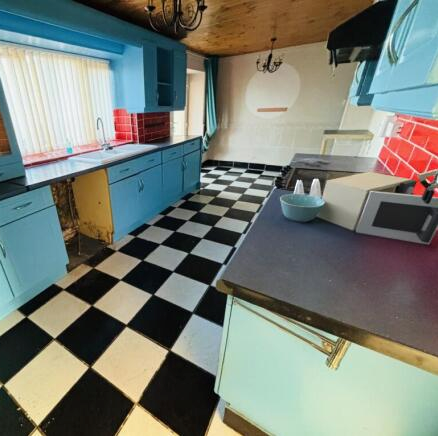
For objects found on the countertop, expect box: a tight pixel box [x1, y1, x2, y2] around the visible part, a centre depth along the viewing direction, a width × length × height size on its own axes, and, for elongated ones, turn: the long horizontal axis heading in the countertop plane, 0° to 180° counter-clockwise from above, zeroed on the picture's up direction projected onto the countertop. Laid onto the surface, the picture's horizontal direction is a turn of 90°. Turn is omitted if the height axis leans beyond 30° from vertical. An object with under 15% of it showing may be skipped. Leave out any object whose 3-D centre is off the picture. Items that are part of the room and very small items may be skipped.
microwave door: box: [355, 191, 438, 245], centre depth 77 cm, size 7×19×16 cm, turn 57°
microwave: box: [316, 171, 418, 231], centre depth 94 cm, size 16×26×16 cm, turn 110°
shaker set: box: [293, 178, 322, 199], centre depth 116 cm, size 12×4×11 cm, turn 60°
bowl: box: [279, 193, 325, 223], centre depth 99 cm, size 16×16×8 cm
